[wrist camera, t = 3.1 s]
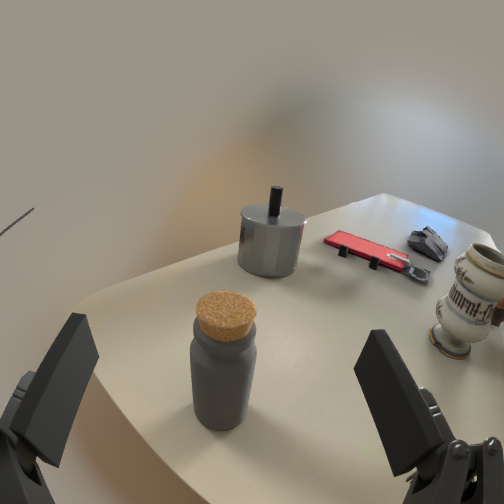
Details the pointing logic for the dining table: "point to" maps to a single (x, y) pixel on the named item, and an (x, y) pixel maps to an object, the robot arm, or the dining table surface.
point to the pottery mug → (498, 313)
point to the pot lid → (273, 213)
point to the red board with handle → (375, 254)
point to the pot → (268, 249)
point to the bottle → (223, 358)
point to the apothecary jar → (469, 301)
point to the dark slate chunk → (428, 243)
